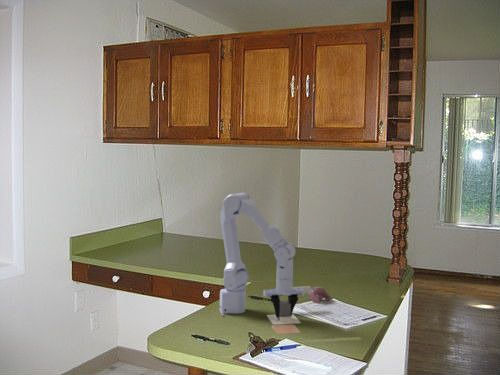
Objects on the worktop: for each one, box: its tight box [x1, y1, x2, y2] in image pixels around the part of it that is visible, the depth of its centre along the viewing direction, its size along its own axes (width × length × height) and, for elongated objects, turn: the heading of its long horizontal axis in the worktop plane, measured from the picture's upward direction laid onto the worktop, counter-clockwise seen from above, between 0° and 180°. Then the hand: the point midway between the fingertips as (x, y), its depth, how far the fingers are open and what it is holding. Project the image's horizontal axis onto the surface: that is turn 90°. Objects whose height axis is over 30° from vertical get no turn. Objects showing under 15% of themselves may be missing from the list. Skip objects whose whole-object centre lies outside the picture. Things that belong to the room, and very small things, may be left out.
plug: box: [277, 299, 291, 321], centre depth 182 cm, size 4×4×6 cm
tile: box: [271, 324, 301, 335], centre depth 173 cm, size 8×8×1 cm
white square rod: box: [274, 285, 312, 294], centre depth 192 cm, size 2×14×2 cm, turn 108°
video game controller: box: [307, 286, 332, 304], centre depth 207 cm, size 10×5×7 cm, turn 142°
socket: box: [266, 296, 302, 326], centre depth 185 cm, size 10×14×7 cm
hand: (283, 315), depth 183 cm, fingers closed on plug, 4 cm apart
